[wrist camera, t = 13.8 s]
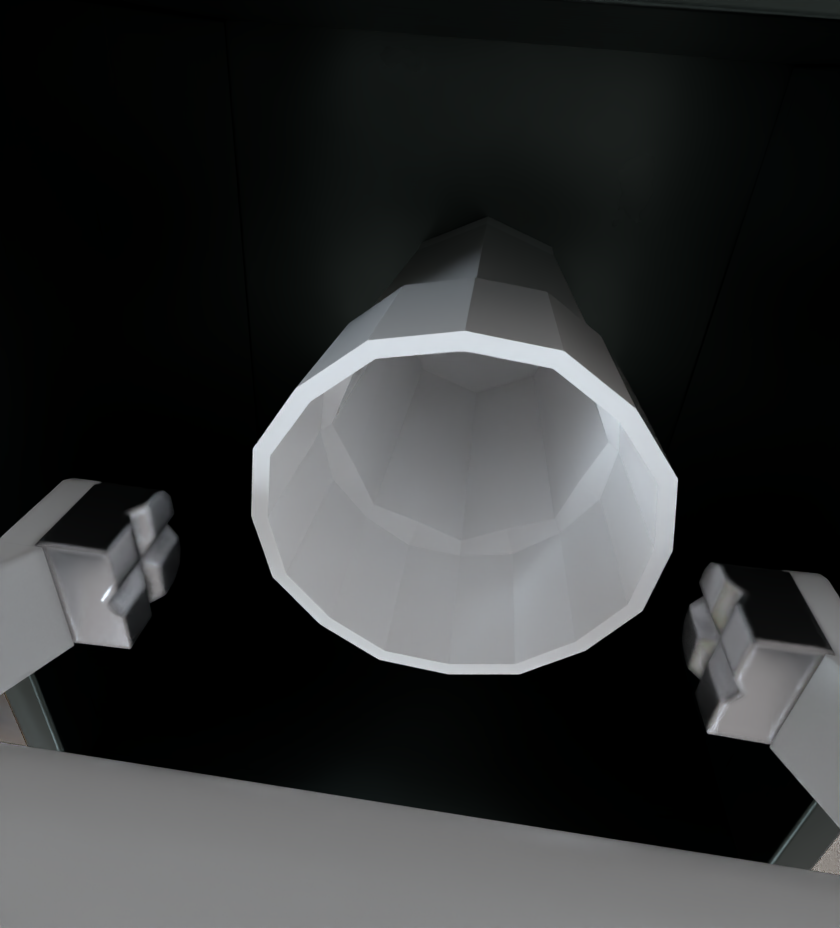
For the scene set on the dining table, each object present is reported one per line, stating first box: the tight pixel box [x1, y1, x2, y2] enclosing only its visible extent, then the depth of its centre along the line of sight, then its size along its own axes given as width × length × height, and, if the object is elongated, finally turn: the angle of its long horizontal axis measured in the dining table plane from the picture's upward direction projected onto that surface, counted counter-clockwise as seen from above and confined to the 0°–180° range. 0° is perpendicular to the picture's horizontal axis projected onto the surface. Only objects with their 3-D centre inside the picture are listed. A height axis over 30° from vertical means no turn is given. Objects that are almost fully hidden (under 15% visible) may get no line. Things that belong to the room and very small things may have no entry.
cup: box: [251, 217, 678, 674], centre depth 15 cm, size 7×7×11 cm
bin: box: [0, 0, 840, 870], centre depth 15 cm, size 16×16×13 cm
